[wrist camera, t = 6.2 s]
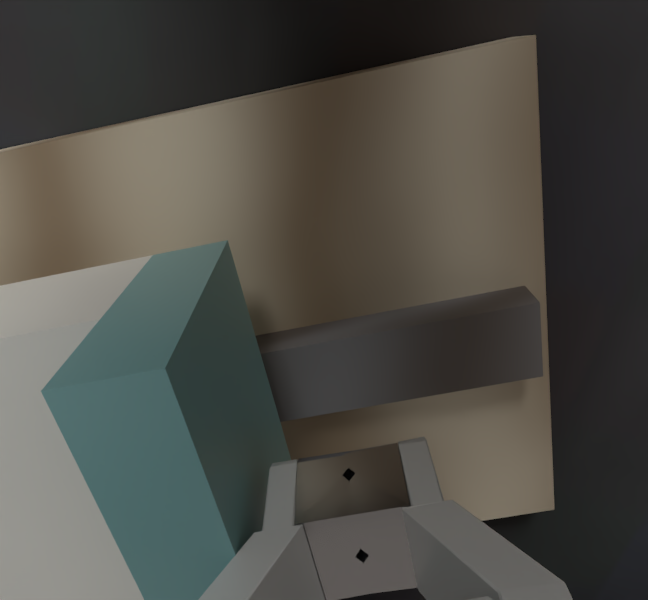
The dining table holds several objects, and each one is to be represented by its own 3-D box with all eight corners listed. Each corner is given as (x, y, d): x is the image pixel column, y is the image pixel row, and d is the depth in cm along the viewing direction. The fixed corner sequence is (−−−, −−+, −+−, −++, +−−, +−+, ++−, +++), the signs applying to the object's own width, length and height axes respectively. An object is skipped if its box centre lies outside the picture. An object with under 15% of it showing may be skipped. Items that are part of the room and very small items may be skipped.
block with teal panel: (227, 240, 11) (164, 367, 7) (328, 588, 15) (332, 812, 11) (-72, 300, 12) (-322, 457, 7) (106, 621, 16) (21, 849, 11)
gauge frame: (512, 37, 12) (960, -3, 4) (536, 474, 18) (745, 879, 9) (-384, 234, 14) (-1505, 520, 5) (-119, 579, 19) (-473, 1005, 11)
